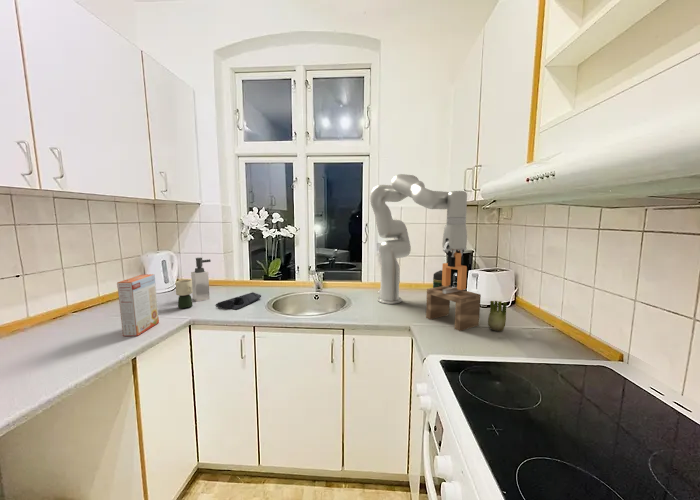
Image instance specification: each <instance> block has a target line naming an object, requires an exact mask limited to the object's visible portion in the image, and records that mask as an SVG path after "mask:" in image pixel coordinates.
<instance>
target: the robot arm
mask: <svg viewBox="0 0 700 500" xmlns="http://www.w3.org/2000/svg"><path fill="white" fill-rule="evenodd" d="M369 196H370V197H369V199H370V205H371V206H370V207H371V209H372V212H373V214H374V218H375V223H376V228H377V233H378V236H379V237H380V238H382V239H387V240H384V241H383V242H381V244H380V245H379V247H378V250H379V259H380V288H379V290H378V291H377V294H378V295H379V296H378V297H377V298H376V299H377V301H378V302H379V303H382V304H388V305H394V304H395V305H396V304H399V303H401V302H403V300H402V298H401V297H400V265H399V262H398V260H397V259H401V258H407V257H408V256H410V254H411V250H412V249H411V241H410V238H409V233H408V229H407V225H406V224H405V222H404V221H402V220H401V219H394V218H393V217H392V212H391V209H390V207H389V206H388V205H387V203H386V202H388V203H397V202H401V201H403V200H404V199H407V198H408V197H409V198H410V199H412V201H414V203H415V204H417V205H419V206H422V207H424V208H425V209H427V210H428V209H429V210H446V224H445V226H444V228H443V229H444V230H443V235H442V251H443V252H444V253H445V254H446V257H447V263H448V266H451V267H455V257H454V254H455V252H456V253H461V257H463V254H464V252H465V251H466V250H467V243H468V234H467V233H468V231H467V205H468V193H467V192H466V191H465V190H453V191H444V190H443V191H442V190H432V189H428V188H426V186H425V183H424V182H423V181H421V180H419V177H417V176H416V175H413V174H405V173H399V174H396V175H395V176H393V178H392V179H391V183H390V184H378V185H376V186H374V187H373V188H372V189H371V192H370V195H369ZM388 239H389V240H388ZM451 252H452V253H451Z"/></svg>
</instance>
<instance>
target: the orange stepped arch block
mask: <svg viewBox="0 0 700 500" xmlns="http://www.w3.org/2000/svg"><path fill="white" fill-rule="evenodd" d="M451 253H452V251H451ZM454 257H455V267H451V266H448V262H445V263H442V269H441V270H442V285H443V286H449V285H450V279H451V280H452V270H457V279H456V281H457V283H456V284H457V285H456V287H457V289H458V290H465V291H466V289H467V272H468V267H467V265H463V264H462V256H461V253H456V252H455V254H454Z"/></svg>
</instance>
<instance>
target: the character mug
mask: <svg viewBox="0 0 700 500" xmlns="http://www.w3.org/2000/svg"><path fill="white" fill-rule="evenodd" d="M174 284H175V294H176V296H178V298H177V299H178V300H177V301H178V302H177V307H178V308H179V309H183V308H184V309H185V308H187V309H188V308H190V307H193V298H192V295H191V294H192V292H193V290H192V279H180V280H176V281H175V282H174Z"/></svg>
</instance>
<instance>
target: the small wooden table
mask: <svg viewBox="0 0 700 500" xmlns="http://www.w3.org/2000/svg"><path fill="white" fill-rule="evenodd" d="M451 302H454V303H455V309H454V310H455V311H454V313H455V314H454V330H456V331H459V332H461V331H465V330H469V329H471V328H474V327H478V326H480V316H481V315H480V311H481V294H480V293H476V292H472V291H468V290H466V289H465V290H458V289H457V286H451V287H450V286H441V287H435V288H433V287H431V288H427V289H426V303H425V304H426V308H425V310H426V311H425V318H426V319H428V320H433V319H438V318H441V317H445V316H446V317H447V316H449V315H450V308H449V306H450V305H451Z"/></svg>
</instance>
